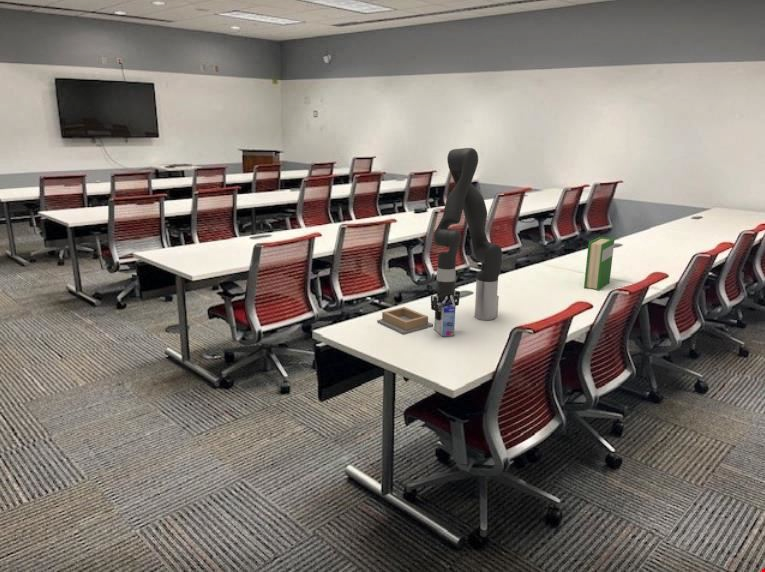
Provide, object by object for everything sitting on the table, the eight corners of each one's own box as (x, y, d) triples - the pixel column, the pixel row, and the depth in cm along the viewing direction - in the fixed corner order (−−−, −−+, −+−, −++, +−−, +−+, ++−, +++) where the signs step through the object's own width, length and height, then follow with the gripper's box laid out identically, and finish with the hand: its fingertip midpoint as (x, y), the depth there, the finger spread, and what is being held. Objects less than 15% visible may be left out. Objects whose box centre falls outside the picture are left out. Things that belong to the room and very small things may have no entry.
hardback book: (598, 290, 288) (603, 244, 281) (583, 288, 293) (588, 242, 286) (609, 283, 302) (614, 238, 295) (595, 280, 306) (600, 236, 299)
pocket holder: (406, 314, 254) (406, 305, 252) (433, 326, 240) (433, 316, 239) (377, 322, 244) (377, 312, 243) (403, 334, 231) (403, 324, 229)
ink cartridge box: (455, 335, 229) (456, 301, 225) (442, 337, 228) (443, 302, 224) (446, 327, 238) (447, 294, 234) (433, 328, 237) (434, 295, 233)
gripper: (452, 273, 234) (451, 312, 238) (426, 279, 225) (425, 319, 230) (465, 277, 228) (464, 316, 233) (438, 283, 220) (437, 324, 224)
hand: (444, 317), depth 231 cm, fingers closed on ink cartridge box, 6 cm apart
